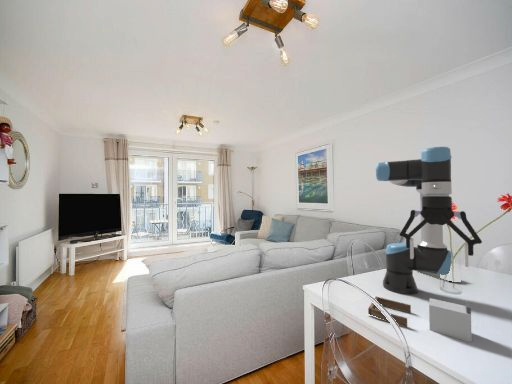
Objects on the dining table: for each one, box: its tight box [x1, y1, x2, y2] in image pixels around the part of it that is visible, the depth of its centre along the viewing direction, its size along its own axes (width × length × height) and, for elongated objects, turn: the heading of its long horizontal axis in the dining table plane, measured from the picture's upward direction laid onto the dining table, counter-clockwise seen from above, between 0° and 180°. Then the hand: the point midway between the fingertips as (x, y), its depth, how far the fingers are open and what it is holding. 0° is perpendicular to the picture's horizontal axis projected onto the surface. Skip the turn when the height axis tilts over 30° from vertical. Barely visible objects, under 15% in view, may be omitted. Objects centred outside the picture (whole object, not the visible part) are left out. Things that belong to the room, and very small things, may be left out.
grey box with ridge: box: [428, 297, 473, 343], centre depth 81 cm, size 7×11×11 cm, turn 51°
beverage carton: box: [416, 271, 440, 280], centre depth 136 cm, size 8×19×7 cm, turn 16°
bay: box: [367, 296, 412, 328], centre depth 92 cm, size 14×13×3 cm
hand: (437, 261), depth 72 cm, fingers open, 13 cm apart
